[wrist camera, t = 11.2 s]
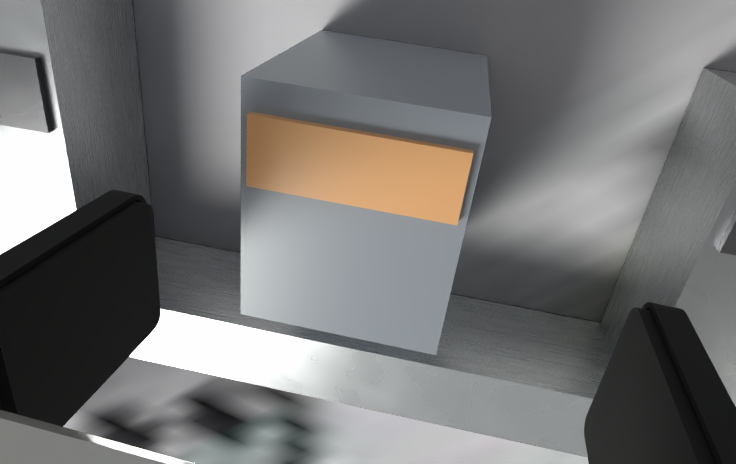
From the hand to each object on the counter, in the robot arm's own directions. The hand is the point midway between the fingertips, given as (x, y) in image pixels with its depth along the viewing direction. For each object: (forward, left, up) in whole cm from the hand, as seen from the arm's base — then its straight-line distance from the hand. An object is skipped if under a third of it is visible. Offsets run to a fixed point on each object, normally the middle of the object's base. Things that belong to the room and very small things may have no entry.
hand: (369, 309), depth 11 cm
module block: (+1, -1, -8) cm, 9 cm away
